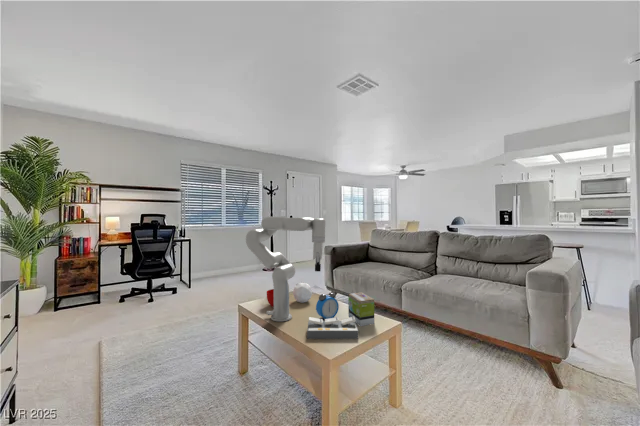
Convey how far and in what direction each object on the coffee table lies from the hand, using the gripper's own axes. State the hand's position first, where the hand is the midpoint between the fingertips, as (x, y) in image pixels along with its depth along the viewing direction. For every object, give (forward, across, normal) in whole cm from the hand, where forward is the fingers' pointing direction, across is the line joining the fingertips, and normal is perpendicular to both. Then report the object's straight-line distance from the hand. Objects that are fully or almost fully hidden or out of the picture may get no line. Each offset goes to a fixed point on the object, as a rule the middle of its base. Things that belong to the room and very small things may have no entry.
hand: (317, 271), depth 161 cm
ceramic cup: (+32, -32, -30) cm, 54 cm away
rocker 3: (+24, +12, +18) cm, 32 cm away
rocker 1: (+25, +12, 0) cm, 28 cm away
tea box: (+30, -4, +26) cm, 40 cm away
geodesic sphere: (+31, -39, -11) cm, 51 cm away
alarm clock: (+31, -8, +6) cm, 32 cm away
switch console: (+30, +13, +9) cm, 34 cm away
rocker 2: (+25, +12, +8) cm, 29 cm away
